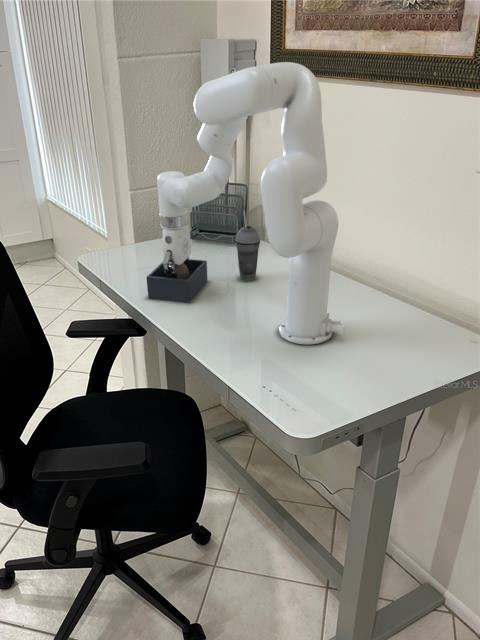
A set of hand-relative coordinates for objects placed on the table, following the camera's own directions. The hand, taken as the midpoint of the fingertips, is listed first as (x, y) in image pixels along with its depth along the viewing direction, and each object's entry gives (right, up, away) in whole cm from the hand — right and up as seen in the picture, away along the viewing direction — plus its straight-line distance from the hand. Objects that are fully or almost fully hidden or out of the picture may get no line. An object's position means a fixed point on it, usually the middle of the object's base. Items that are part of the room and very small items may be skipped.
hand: (178, 279), depth 168 cm
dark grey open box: (0, -3, +2) cm, 3 cm away
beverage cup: (+21, +1, +7) cm, 22 cm away
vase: (0, -2, +2) cm, 3 cm away
